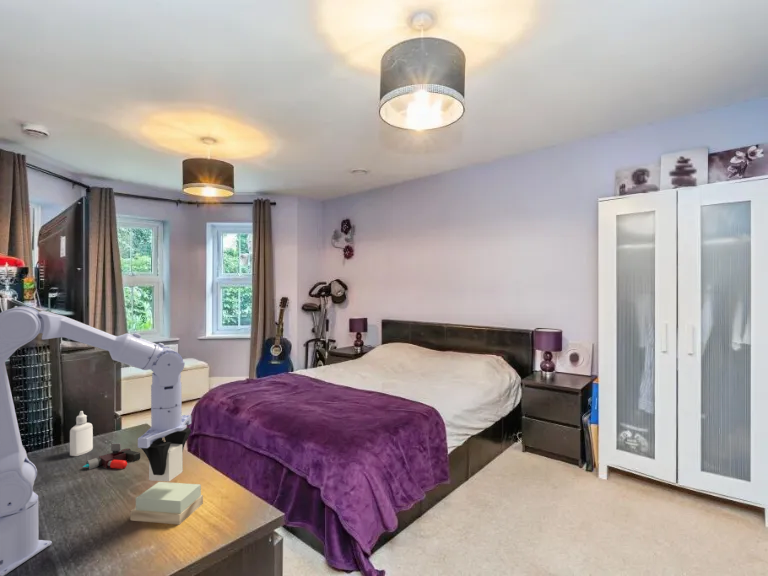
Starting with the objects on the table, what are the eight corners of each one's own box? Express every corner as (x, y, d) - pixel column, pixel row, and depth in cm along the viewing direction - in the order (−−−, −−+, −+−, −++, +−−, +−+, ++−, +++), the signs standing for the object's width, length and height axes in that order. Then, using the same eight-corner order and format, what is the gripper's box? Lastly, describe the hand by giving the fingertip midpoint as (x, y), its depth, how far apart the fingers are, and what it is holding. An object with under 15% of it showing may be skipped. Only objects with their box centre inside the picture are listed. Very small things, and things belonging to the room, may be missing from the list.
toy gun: (80, 469, 107) (80, 451, 107) (130, 454, 117) (130, 437, 117) (94, 480, 101) (94, 460, 101) (145, 463, 111) (145, 445, 111)
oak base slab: (179, 527, 82) (179, 515, 82) (130, 523, 83) (130, 511, 83) (202, 506, 90) (202, 495, 90) (157, 502, 91) (157, 491, 91)
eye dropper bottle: (95, 451, 118) (95, 410, 118) (71, 458, 114) (71, 415, 114) (91, 448, 121) (91, 407, 121) (67, 453, 117) (67, 412, 117)
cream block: (169, 481, 84) (168, 452, 84) (149, 480, 85) (149, 451, 85) (182, 471, 89) (182, 444, 89) (163, 470, 89) (163, 443, 89)
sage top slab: (180, 513, 82) (180, 501, 82) (135, 510, 84) (135, 497, 84) (200, 495, 89) (200, 484, 89) (159, 493, 90) (158, 481, 90)
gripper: (160, 416, 79) (161, 486, 79) (203, 396, 93) (203, 455, 93) (127, 415, 80) (128, 484, 80) (175, 395, 94) (175, 454, 94)
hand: (166, 468), depth 87 cm, fingers closed on cream block, 4 cm apart
